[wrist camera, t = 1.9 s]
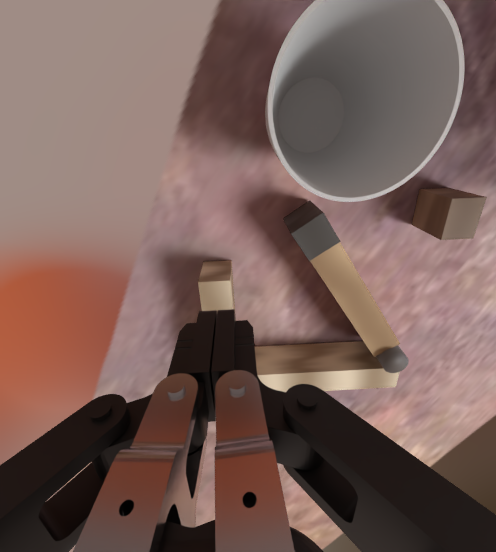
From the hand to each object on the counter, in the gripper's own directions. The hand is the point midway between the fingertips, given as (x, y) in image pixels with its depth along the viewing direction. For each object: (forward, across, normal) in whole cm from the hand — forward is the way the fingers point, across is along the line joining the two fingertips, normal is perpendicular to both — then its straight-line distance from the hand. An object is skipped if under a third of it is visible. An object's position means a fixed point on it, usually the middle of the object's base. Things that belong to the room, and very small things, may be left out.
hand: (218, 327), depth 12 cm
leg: (+13, -10, +5) cm, 18 cm away
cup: (+14, -7, -8) cm, 17 cm away
